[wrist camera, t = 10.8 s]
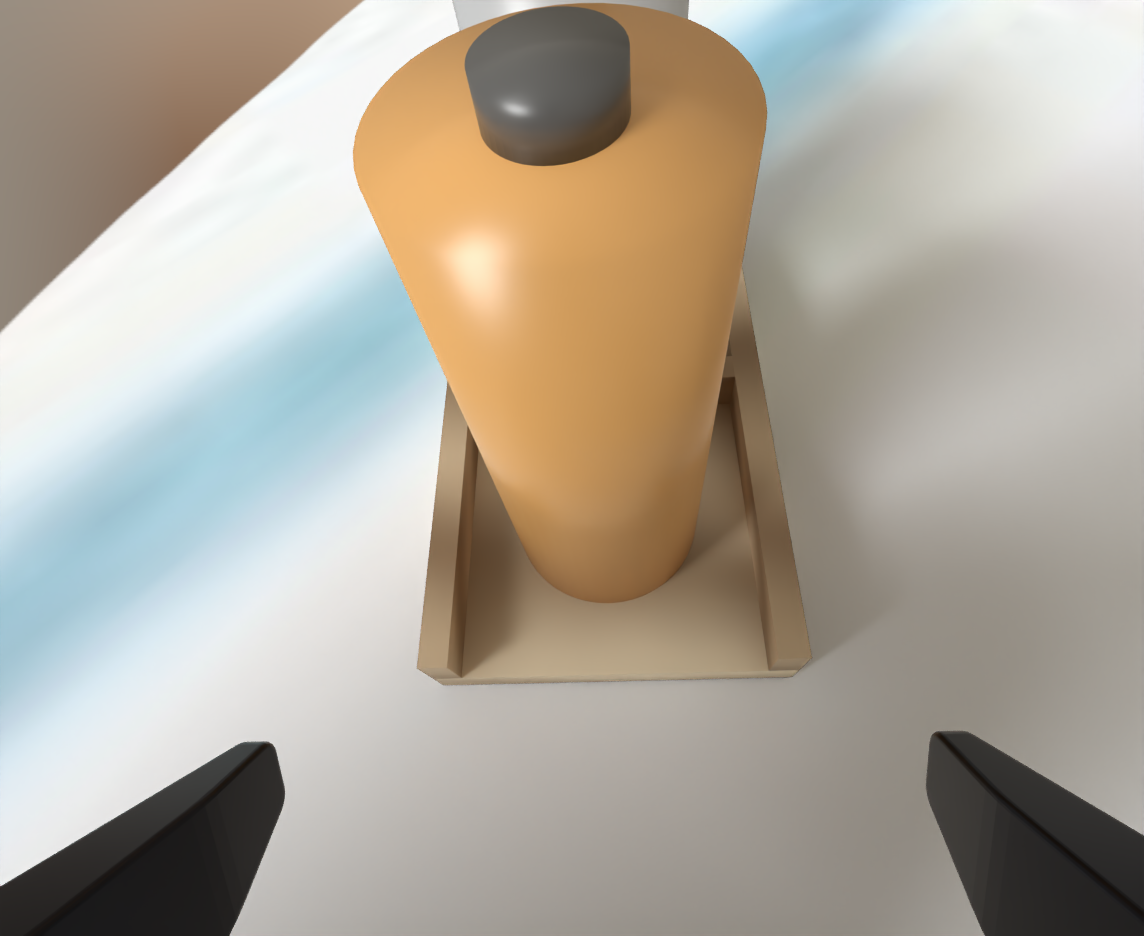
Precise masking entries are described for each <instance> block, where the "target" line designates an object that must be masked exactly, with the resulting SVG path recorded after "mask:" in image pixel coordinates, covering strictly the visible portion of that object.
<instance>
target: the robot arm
mask: <svg viewBox="0 0 1144 936" xmlns="http://www.w3.org/2000/svg"><path fill="white" fill-rule="evenodd" d="M926 790H927V796H928V800H929V803H930V806H931V808H932V811H933V813H934V815H935V818H936V820H937V823H938V825H939V828H940V830H941V833H942V835H943V837H944V840H945V842H946V845H947V847H948V850H949V852H950V855H951V857H952V859H953V862H954V864H955V867H956V869H957V872H958V874H959V877H960V879H961V881H962V884H963V886H964V889H965V891H966V894H967V896H968V899H969V901H970V903H971V906H972V908H973V911H974V913H975V915H976V917H977V920H978V922H979V924H980V927H981V929H982V931H983V933H984V935H985V936H1144V835H1142V834H1140V833H1138V832H1137V831H1135V830H1133V829H1132V828H1130V827H1128V826H1127V825H1125V824H1123V823H1122V822H1120V821H1118V820H1117V819H1115V818H1113V817H1111V816H1110V815H1108V814H1106V813H1105V812H1103V811H1101V810H1100V809H1098V808H1096V807H1095V806H1093V805H1091V804H1089V803H1088V802H1086V801H1084V800H1083V799H1081V798H1079V797H1078V796H1076V795H1074V794H1073V793H1071V792H1069V791H1067V790H1066V789H1064V788H1062V787H1061V786H1059V785H1057V784H1056V783H1054V782H1052V781H1051V780H1049V779H1047V778H1046V777H1044V776H1042V775H1040V774H1039V773H1037V772H1035V771H1034V770H1032V769H1030V768H1029V767H1027V766H1025V765H1024V764H1022V763H1020V762H1018V761H1017V760H1015V759H1013V758H1012V757H1010V756H1008V755H1007V754H1005V753H1003V752H1002V751H1000V750H998V749H997V748H995V747H993V746H991V745H990V744H988V743H986V742H985V741H983V740H981V739H980V738H978V737H976V736H975V735H973V734H971V733H969V732H966V731H938V732H935V733H934V734H933V735H932V736H931V739H930V744H929V755H928V767H927V778H926ZM284 799H285V788H284V783H283V779H282V774H281V770H280V766H279V761H278V757H277V753H276V749H275V747H274V746H273V744H271V743H270V742H243V743H240V744H238V745H236V746H235V747H233V748H231V749H230V750H228V751H226V752H225V753H223V754H221V755H220V756H218V757H216V758H215V759H213V760H211V761H210V762H208V763H206V764H205V765H203V766H201V767H200V768H198V769H196V770H195V771H193V772H191V773H190V774H188V775H186V776H184V777H183V778H181V779H179V780H178V781H176V782H174V783H173V784H171V785H169V786H168V787H166V788H164V789H163V790H161V791H159V792H158V793H156V794H154V795H153V796H151V797H149V798H148V799H146V800H144V801H143V802H141V803H139V804H138V805H136V806H134V807H133V808H131V809H129V810H128V811H126V812H124V813H123V814H121V815H119V816H118V817H116V818H114V819H113V820H111V821H109V822H108V823H106V824H104V825H102V826H101V827H99V828H97V829H96V830H94V831H92V832H91V833H89V834H87V835H86V836H84V837H82V838H81V839H79V840H77V841H76V842H74V843H72V844H71V845H69V846H67V847H66V848H64V849H62V850H61V851H59V852H57V853H56V854H54V855H52V856H51V857H49V858H47V859H46V860H44V861H42V862H41V863H39V864H37V865H36V866H34V867H32V868H31V869H29V870H27V871H26V872H24V873H22V874H21V875H19V876H17V877H15V878H14V879H12V880H10V881H9V882H7V883H5V884H4V885H2V886H0V936H229V935H230V933H231V931H232V929H233V927H234V925H235V923H236V921H237V919H238V916H239V914H240V912H241V909H242V907H243V905H244V902H245V900H246V898H247V895H248V893H249V890H250V888H251V885H252V883H253V880H254V878H255V875H256V873H257V870H258V868H259V865H260V863H261V860H262V858H263V855H264V853H265V850H266V848H267V845H268V843H269V840H270V838H271V835H272V833H273V830H274V828H275V825H276V823H277V820H278V818H279V815H280V813H281V810H282V807H283V804H284Z"/></svg>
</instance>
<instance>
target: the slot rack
mask: <svg viewBox="0 0 1144 936" xmlns="http://www.w3.org/2000/svg"><path fill="white" fill-rule="evenodd" d="M810 659H812V656H811V650H810V644H809V639H808V633H807V628H806V622H805V616H804V611H803V605H802V600H801V594H800V588H799V583H798V577H797V572H796V566H795V560H794V555H793V549H792V544H791V538H790V532H789V527H788V521H787V516H786V510H785V504H784V499H783V493H782V488H781V482H780V476H779V471H778V465H777V460H776V454H775V448H774V443H773V437H772V431H771V426H770V420H769V415H768V409H767V403H766V398H765V392H764V387H763V381H762V375H761V370H760V364H759V359H758V353H757V347H756V342H755V336H754V331H753V325H752V319H751V314H750V308H749V303H748V297H747V291H746V286H745V280H744V275H743V269H742V267H741V273H740V279H739V284H738V290H737V296H736V301H735V307H734V313H733V318H732V324H731V330H730V336H729V341H728V347H727V353H726V358H725V364H724V370H723V375H722V381H721V387H720V392H719V398H718V404H717V409H716V415H715V421H714V426H713V432H712V438H711V443H710V449H709V455H708V461H707V466H706V472H705V478H704V483H703V489H702V495H701V500H700V506H699V512H698V517H697V523H696V529H695V534H694V538H693V542H692V546H691V548H690V551H689V553H688V555H687V557H686V559H685V560H684V562H683V564H682V565H681V567H680V568H679V569H678V570H677V572H676V573H675V574H674V575H673V576H672V577H671V578H670V579H669V580H668V581H667V582H666V583H664V584H663V585H661V586H660V587H659V588H657V589H656V590H654V591H652V592H650V593H648V594H646V595H644V596H641V597H639V598H636V599H633V600H629V601H624V602H617V603H595V602H589V601H584V600H580V599H577V598H574V597H572V596H569V595H567V594H565V593H563V592H561V591H560V590H558V589H556V588H555V587H553V586H552V585H551V584H549V583H548V582H547V581H546V580H545V579H544V578H543V577H542V576H541V575H540V574H539V573H538V572H537V571H536V569H535V568H534V566H533V565H532V563H531V562H530V560H529V558H528V556H527V554H526V552H525V550H524V547H523V545H522V543H521V541H520V539H519V536H518V534H517V532H516V530H515V528H514V525H513V523H512V521H511V519H510V517H509V515H508V512H507V510H506V508H505V506H504V504H503V501H502V499H501V497H500V495H499V493H498V490H497V488H496V486H495V484H494V482H493V479H492V477H491V475H490V473H489V471H488V468H487V466H486V464H485V462H484V460H483V457H482V455H481V453H480V451H479V449H478V447H477V444H476V442H475V440H474V438H473V436H472V433H471V431H470V429H469V427H468V425H467V422H466V420H465V418H464V416H463V414H462V411H461V409H460V407H459V405H458V403H457V400H456V398H455V396H454V394H453V392H452V390H451V387H450V385H449V383H448V381H447V391H446V400H445V409H444V419H443V428H442V437H441V447H440V456H439V466H438V475H437V484H436V494H435V503H434V512H433V522H432V531H431V541H430V550H429V559H428V569H427V578H426V587H425V597H424V606H423V616H422V625H421V634H420V644H419V653H418V662H417V669H419V670H420V671H422V672H423V673H425V674H427V675H428V676H430V677H431V678H433V679H434V680H436V681H438V682H439V683H441V684H442V685H474V684H516V683H559V682H601V681H644V680H686V679H729V678H771V677H792V676H793V675H795V674H796V673H797V672H798V671H799V670H800V669H801V668H802V667H803V666H804V665H805V664H806V663H807V662H808V661H809V660H810Z"/></svg>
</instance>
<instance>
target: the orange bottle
mask: <svg viewBox="0 0 1144 936" xmlns="http://www.w3.org/2000/svg"><path fill="white" fill-rule="evenodd" d="M766 120H767V107H766V99H765V94H764V91H763V88H762V85H761V82H760V80H759V78H758V76H757V74H756V73H755V71H754V69H753V68H752V66H751V64H750V63H749V62H748V61H747V60H746V58H745V57H744V56H743V55H742V54H741V53H740V52H739V51H738V50H737V49H736V48H735V47H734V46H733V45H731V44H730V43H729V42H728V41H726V40H725V39H724V38H722V37H721V36H719V35H718V34H716V33H714V32H713V31H711V30H709V29H708V28H706V27H704V26H702V25H699V24H697V23H695V22H693V21H691V20H689V19H686V18H683V17H680V16H677V15H674V14H671V13H668V12H663V11H659V10H655V9H651V8H646V7H639V6H632V5H626V4H611V3H574V4H561V5H552V6H545V7H539V8H532V9H528V10H523V11H519V12H514V13H510V14H506V15H503V16H500V17H496V18H493V19H490V20H487V21H484V22H481V23H479V24H476V25H473V26H471V27H468V28H466V29H463V30H461V31H459V32H457V33H455V34H453V35H451V36H448V37H446V38H445V39H443V40H441V41H439V42H438V43H436V44H434V45H432V46H430V47H429V48H427V49H426V50H424V51H423V52H421V53H420V54H418V55H417V56H415V57H414V58H413V59H411V60H410V61H409V62H407V63H406V64H405V65H404V66H403V67H401V68H400V69H399V70H398V71H397V72H396V73H394V74H393V75H392V77H391V78H390V79H389V80H388V81H387V82H386V83H385V84H384V85H383V86H382V87H381V88H380V90H379V91H378V92H377V94H376V95H375V96H374V98H373V99H372V100H371V102H370V103H369V105H368V107H367V109H366V111H365V113H364V114H363V116H362V118H361V121H360V124H359V126H358V129H357V132H356V135H355V142H354V149H353V161H354V171H355V175H356V178H357V182H358V186H359V188H360V190H361V192H362V194H363V197H364V199H365V201H366V203H367V205H368V208H369V210H370V212H371V214H372V216H373V218H374V221H375V223H376V225H377V227H378V229H379V232H380V234H381V236H382V238H383V240H384V243H385V245H386V247H387V249H388V251H389V254H390V256H391V258H392V260H393V262H394V265H395V267H396V269H397V271H398V273H399V275H400V278H401V280H402V282H403V284H404V286H405V289H406V291H407V293H408V295H409V297H410V300H411V302H412V304H413V306H414V308H415V311H416V313H417V315H418V317H419V319H420V322H421V324H422V326H423V328H424V330H425V333H426V335H427V337H428V339H429V341H430V343H431V346H432V348H433V350H434V352H435V354H436V357H437V359H438V361H439V363H440V365H441V368H442V370H443V372H444V374H445V376H446V379H447V381H448V383H449V385H450V387H451V390H452V392H453V394H454V396H455V398H456V400H457V403H458V405H459V407H460V409H461V411H462V414H463V416H464V418H465V420H466V422H467V425H468V427H469V429H470V431H471V433H472V436H473V438H474V440H475V442H476V444H477V447H478V449H479V451H480V453H481V455H482V457H483V460H484V462H485V464H486V466H487V468H488V471H489V473H490V475H491V477H492V479H493V482H494V484H495V486H496V488H497V490H498V493H499V495H500V497H501V499H502V501H503V504H504V506H505V508H506V510H507V512H508V515H509V517H510V519H511V521H512V523H513V525H514V528H515V530H516V532H517V534H518V536H519V539H520V541H521V543H522V545H523V547H524V550H525V552H526V554H527V556H528V558H529V560H530V562H531V563H532V565H533V566H534V568H535V569H536V571H537V572H538V573H539V574H540V575H541V576H542V577H543V578H544V579H545V580H546V581H547V582H548V583H549V584H551V585H552V586H553V587H555V588H556V589H558V590H560V591H561V592H563V593H565V594H567V595H569V596H572V597H574V598H577V599H580V600H584V601H589V602H595V603H617V602H624V601H629V600H633V599H636V598H639V597H641V596H644V595H646V594H648V593H650V592H652V591H654V590H656V589H657V588H659V587H660V586H661V585H663V584H664V583H666V582H667V581H668V580H669V579H670V578H671V577H672V576H673V575H674V574H675V573H676V572H677V570H678V569H679V568H680V567H681V565H682V564H683V562H684V560H685V559H686V557H687V555H688V553H689V551H690V548H691V546H692V542H693V538H694V534H695V529H696V523H697V517H698V512H699V506H700V500H701V495H702V489H703V483H704V478H705V472H706V466H707V461H708V455H709V449H710V443H711V438H712V432H713V426H714V421H715V415H716V409H717V404H718V398H719V392H720V387H721V381H722V375H723V370H724V364H725V358H726V353H727V347H728V341H729V336H730V330H731V324H732V318H733V313H734V307H735V301H736V296H737V290H738V284H739V279H740V273H741V267H742V262H743V256H744V250H745V245H746V239H747V233H748V228H749V222H750V216H751V210H752V205H753V199H754V193H755V188H756V182H757V176H758V171H759V165H760V159H761V154H762V148H763V142H764V137H765V131H766Z"/></svg>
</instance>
